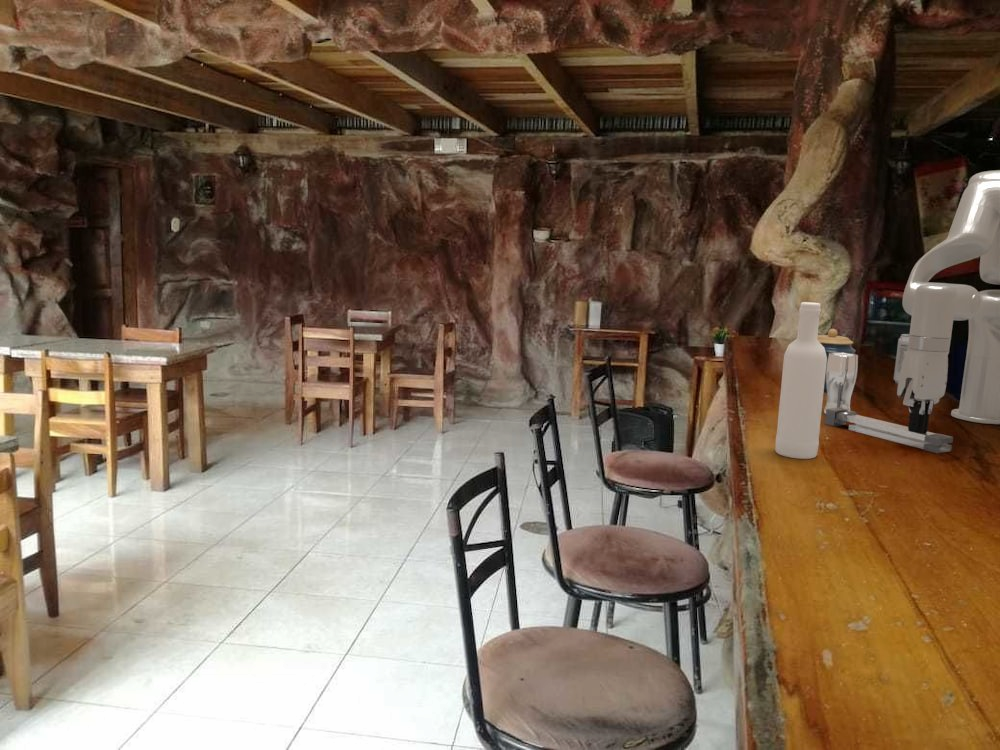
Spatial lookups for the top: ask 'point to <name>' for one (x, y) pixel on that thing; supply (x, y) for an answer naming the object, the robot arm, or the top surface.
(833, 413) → the tongs base
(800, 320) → the bottle
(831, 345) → the canister
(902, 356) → the energy drink can
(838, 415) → the upper jaw
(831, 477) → the top surface
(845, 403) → the beer glass
